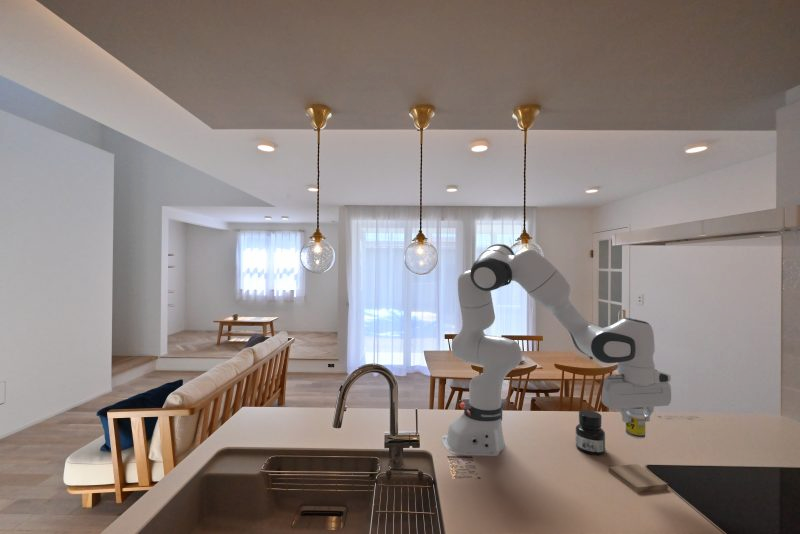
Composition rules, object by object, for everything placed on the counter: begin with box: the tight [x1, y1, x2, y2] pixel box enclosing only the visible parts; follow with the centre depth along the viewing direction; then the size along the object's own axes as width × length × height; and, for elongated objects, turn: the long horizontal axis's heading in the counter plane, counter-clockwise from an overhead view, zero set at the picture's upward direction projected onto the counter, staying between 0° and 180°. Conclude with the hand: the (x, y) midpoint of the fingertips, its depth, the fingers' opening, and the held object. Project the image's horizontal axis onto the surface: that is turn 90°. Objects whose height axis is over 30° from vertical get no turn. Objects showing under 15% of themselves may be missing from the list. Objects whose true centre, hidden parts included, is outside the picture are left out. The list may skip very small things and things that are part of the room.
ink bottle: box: [575, 409, 606, 456], centre depth 117 cm, size 10×9×12 cm
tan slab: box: [608, 463, 669, 494], centre depth 99 cm, size 10×10×2 cm
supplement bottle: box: [625, 407, 646, 440], centre depth 99 cm, size 5×5×8 cm
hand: (636, 421), depth 99 cm, fingers closed on supplement bottle, 5 cm apart
